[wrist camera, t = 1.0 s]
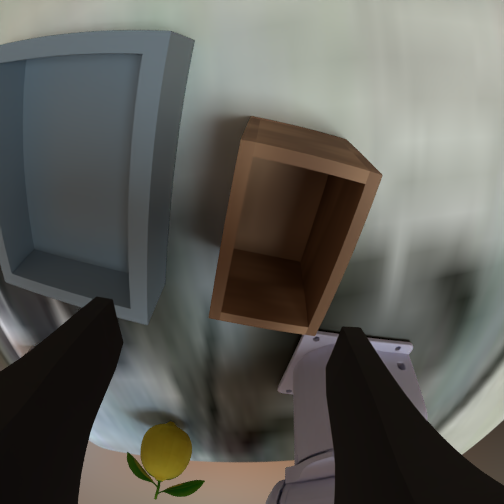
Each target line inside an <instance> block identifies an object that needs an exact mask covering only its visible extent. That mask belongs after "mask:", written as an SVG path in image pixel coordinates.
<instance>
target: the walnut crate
mask: <svg viewBox="0 0 504 504" xmlns="http://www.w3.org/2000/svg"><path fill="white" fill-rule="evenodd" d="M381 178H382V174H381V173H380V172H379V171H378V170H377V169H376V168H375V167H374V166H373V165H372V164H371V163H370V162H369V161H368V160H367V159H366V158H365V157H364V156H363V155H362V154H361V153H360V152H359V151H358V150H357V149H356V148H355V147H354V146H353V145H352V144H351V143H350V142H349V141H347V140H346V139H343V138H340V137H337V136H333V135H329V134H326V133H322V132H318V131H315V130H311V129H307V128H303V127H299V126H295V125H290V124H286V123H282V122H277V121H273V120H268V119H264V118H259V117H254V116H251V117H250V119H249V121H248V124H247V126H246V128H245V131H244V133H243V135H242V137H241V140H240V145H239V150H238V155H237V161H236V166H235V171H234V176H233V181H232V186H231V192H230V197H229V202H228V208H227V213H226V219H225V224H224V230H223V235H222V241H221V247H220V253H219V258H218V264H217V270H216V276H215V282H214V288H213V294H212V300H211V306H210V313H209V318H211V319H216V320H221V321H227V322H232V323H237V324H243V325H248V326H254V327H260V328H265V329H271V330H277V331H284V332H290V333H296V334H303V335H310V336H315V335H316V333H317V331H318V329H319V327H320V325H321V323H322V321H323V319H324V317H325V314H326V312H327V310H328V308H329V306H330V304H331V301H332V299H333V297H334V295H335V293H336V290H337V288H338V286H339V284H340V281H341V279H342V277H343V275H344V272H345V270H346V268H347V265H348V263H349V261H350V258H351V256H352V253H353V251H354V249H355V246H356V244H357V241H358V239H359V236H360V234H361V231H362V229H363V226H364V224H365V221H366V219H367V216H368V213H369V211H370V208H371V205H372V203H373V200H374V197H375V195H376V192H377V189H378V186H379V184H380V181H381Z"/></svg>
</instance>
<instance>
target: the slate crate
mask: <svg viewBox="0 0 504 504" xmlns="http://www.w3.org/2000/svg"><path fill="white" fill-rule="evenodd" d="M194 42H195V40H193V39H190V38H188V37H185V36H183V35H180V34H178V33H175V32H172V31H157V30H112V31H92V32H79V33H69V34H60V35H52V36H45V37H39V38H33V39H27V40H21V41H16V42H12V43H7V44H2V45H0V265H1V268H2V272H3V275H4V279H5V282H7V283H10V284H12V285H15V286H18V287H21V288H23V289H26V290H29V291H32V292H35V293H38V294H41V295H44V296H47V297H50V298H53V299H56V300H59V301H62V302H66V303H69V304H72V305H75V306H79V307H82V308H83V307H84V306H85V305H86V304H88V303H89V302H90V301H91V300H92V299H94V298H95V297H96V296H98V297H103V298H109V299H113V302H114V307H115V311H116V315H117V317H118V318H121V319H125V320H129V321H133V322H137V323H141V324H145V325H148V323H149V321H150V318H151V316H152V313H153V311H154V309H155V306H156V304H157V301H158V299H159V297H160V294H161V292H162V290H163V287H164V285H165V278H166V259H167V243H168V230H169V217H170V206H171V195H172V185H173V176H174V167H175V159H176V151H177V143H178V136H179V128H180V121H181V115H182V108H183V102H184V96H185V90H186V84H187V78H188V73H189V67H190V62H191V57H192V51H193V46H194Z"/></svg>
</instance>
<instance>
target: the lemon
mask: <svg viewBox="0 0 504 504" xmlns="http://www.w3.org/2000/svg"><path fill="white" fill-rule="evenodd" d="M191 454H192V444H191V441H190V438H189V436H188V434H187V433H186V432H184V431H183V430H182V429H180V428H178V427H177V426H176V425H175V423H174V422H171V421H170V422H168V423H166V424H158V425H155V426H153V427H152V428H150V429H149V430H148V431H147V432H146V433H145V435H144V437H143V440H142V444H141V461H142V464H143V466H144V468H145V470H146V471H147V472H148V473H149V475H151V476H153V477H155V479H156V480H157V481H158V486H157V485H156V484H155V483H154V482H153V480H152V479H151V477H150V476H149V475H148V474H147V473H146V471H145V470H144V469H143V468H142V466H141V465H140V464H139V463H138V462H137V460H136V459H135V458H134V457H133V456H132V455H131V454H130V453H128V452H127V462H128V464H129V467H130V469H131V470H132V472H133V473H134V474H135V475H136V476H137V477H138V478H140V479H142V480H145V481H149V482H152V483H153V484H155V485H156V487H157V490H156V494H155V498H154V499H157V495H158V494H159V493H161V492H165V493H168V494H171V495H173V496H177V497H182V496H188V495H190V494H192V493H194V492H195V491H197V490H198V489H199V488H200V487H201V486H202V484H203V483H204V482H205V481H202V480H194V481H190V482H185V483H181V484H178V485H175V486H172V487H169V488H167V489H165V490H164V491H161V492H159V488H160V482H163V481H164V480H171V479H173V478H176V477H178V476H179V475H180V474H182V472H183V471H184V470H185V469H186V467H187V465H188V463H189V461H190V458H191Z"/></svg>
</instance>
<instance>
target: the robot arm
mask: <svg viewBox="0 0 504 504" xmlns="http://www.w3.org/2000/svg"><path fill="white" fill-rule="evenodd" d="M314 337H317V338H314ZM122 345H123V339H122V335H121V331H120V327H119V323H118V319H117V315H116V311H115V307H114V302H113V299H109V298H103V297H98V296H96V297H95V298H94V299H92V300H91V301H90V302H89V303H88V304H86V305H85V306H84V307H83V308H82V309H80V310H79V311H78V312H77V313H76V314H74V315H73V316H72V317H71V318H70V319H69V320H67V321H66V322H65V323H64V324H63V325H61V326H60V327H59V328H58V329H57V330H55V331H54V332H53V333H52V334H51V335H50V336H48V337H47V338H46V339H44V340H43V341H42V342H41V343H39V344H38V345H37V346H35V347H34V348H33V349H32V350H30V351H29V352H28V353H27V354H25V355H24V356H23V357H21V358H20V359H18V360H17V361H16V362H14V363H13V364H11V365H10V366H8V367H7V368H5V369H3V370H2V371H0V504H78V495H79V487H80V479H81V472H82V467H83V462H84V457H85V452H86V448H87V444H88V440H89V436H90V432H91V429H92V426H93V423H94V420H95V418H96V415H97V413H98V410H99V408H100V405H101V403H102V400H103V398H104V396H105V393H106V391H107V389H108V386H109V384H110V381H111V379H112V377H113V374H114V372H115V369H116V366H117V363H118V360H119V356H120V353H121V349H122ZM412 349H413V345H412V343H411V342H403V341H393V340H384V339H375V338H367V337H366V335H365V334H364V332H363V331H362V329H361V328H359V327H342V328H341V331H340V333H339V334H336V333H329V332H322V331H317V333H316V335H315V336H310V335H303V334H302V337H301V339H300V341H299V343H298V345H297V347H296V350H295V352H294V354H293V356H292V358H291V360H290V362H289V365H288V367H287V369H286V371H285V373H284V375H283V377H282V379H281V381H280V383H279V385H278V392H280V393H285V394H293V407H294V451H295V466H291V467H286V468H285V469H286V470H285V480H282V481H279V482H278V483H277V484H276V485H275V486H274V488H273V489H272V491H271V493H270V494H269V496H268V499H267V501H266V504H504V485H502V484H501V483H499V482H497V481H496V480H494V479H493V478H491V477H490V476H488V475H487V474H485V473H484V472H482V471H481V470H480V469H478V468H477V467H476V466H474V465H473V464H472V463H471V462H469V461H468V460H467V459H466V458H464V457H463V456H462V455H461V454H460V453H459V452H458V451H457V450H455V449H454V448H453V447H452V446H451V445H450V444H449V443H448V442H447V441H446V440H445V439H444V438H443V437H442V436H441V435H440V434H439V433H438V432H437V431H436V430H435V429H434V428H433V427H432V425H431V424H430V423H429V422H428V417H427V410H426V406H425V402H424V399H423V396H422V393H421V390H420V386H419V383H418V380H417V377H416V374H415V371H414V368H413V365H412V363H411V360H410V357H409V353H410V352H411V351H412Z"/></svg>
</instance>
